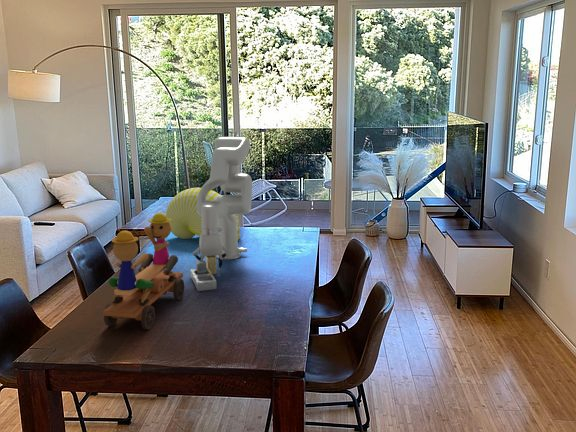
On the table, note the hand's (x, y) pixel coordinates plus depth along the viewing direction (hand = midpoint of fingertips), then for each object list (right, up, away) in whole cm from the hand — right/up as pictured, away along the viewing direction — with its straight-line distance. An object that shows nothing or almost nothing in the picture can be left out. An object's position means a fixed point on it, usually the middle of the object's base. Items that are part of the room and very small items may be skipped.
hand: (211, 268), depth 266 cm
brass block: (0, -2, +1) cm, 2 cm away
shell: (-12, +11, +59) cm, 61 cm away
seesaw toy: (-18, -13, -45) cm, 50 cm away
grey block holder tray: (-2, -5, -13) cm, 14 cm away
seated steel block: (-3, -4, -9) cm, 11 cm away
